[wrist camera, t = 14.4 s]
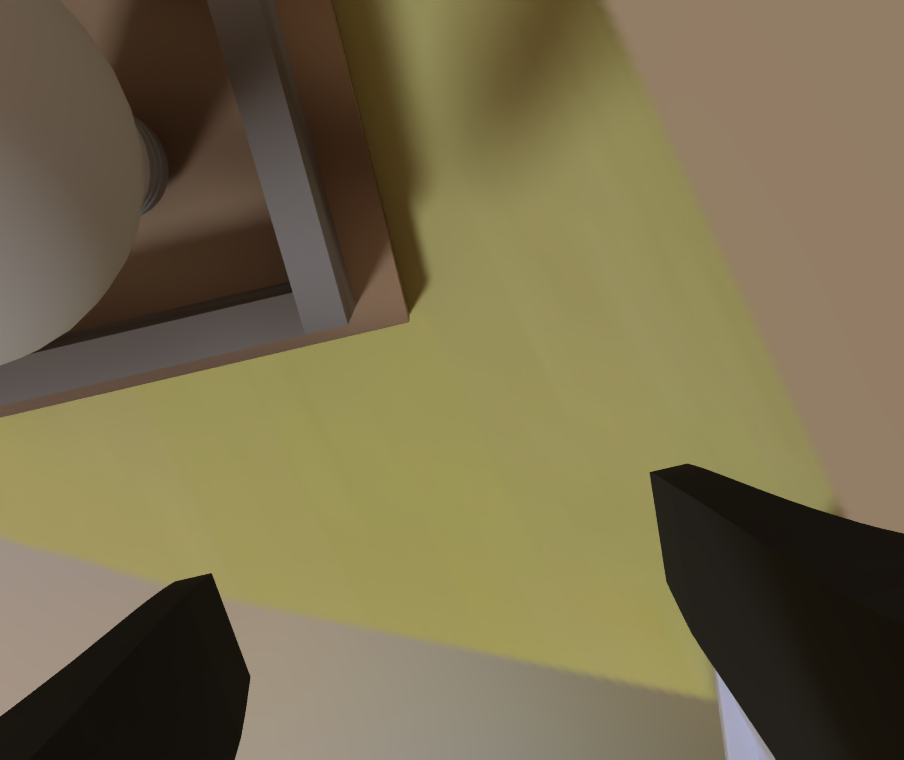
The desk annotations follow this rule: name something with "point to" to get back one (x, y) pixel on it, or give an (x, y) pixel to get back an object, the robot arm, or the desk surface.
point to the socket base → (229, 201)
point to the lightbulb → (64, 174)
